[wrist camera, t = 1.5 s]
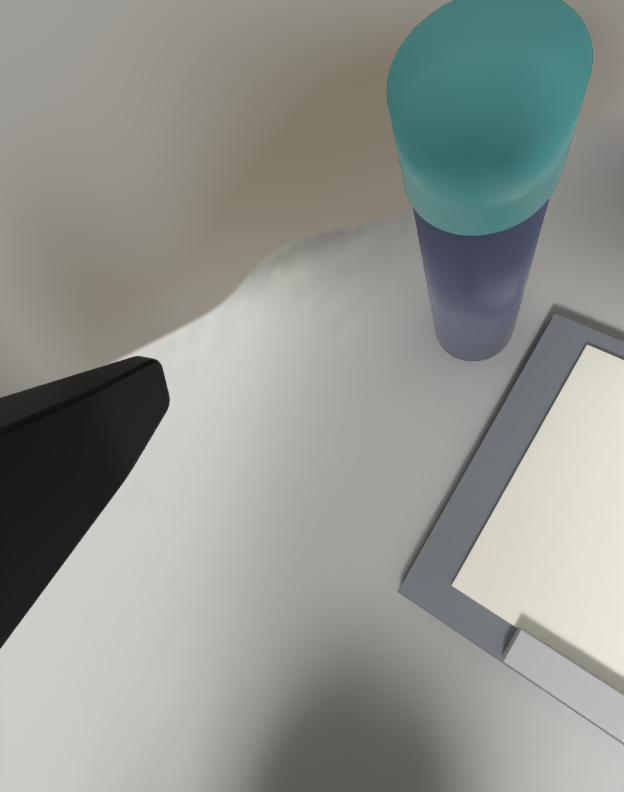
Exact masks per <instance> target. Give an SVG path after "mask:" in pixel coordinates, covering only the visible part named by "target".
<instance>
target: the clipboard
mask: <svg viewBox="0 0 624 792" xmlns="http://www.w3.org/2000/svg"><path fill="white" fill-rule="evenodd" d="M398 592H399V593H400V594H402V595H403V596H405V597H406V598H408V599H409V600H411V601H412V602H414V603H415V604H417V605H418V606H420V607H421V608H423V609H424V610H426V611H427V612H429V613H430V614H431V615H433V616H434V617H436V618H437V619H439V620H440V621H442V622H443V623H445V624H446V625H448V626H449V627H451V628H452V629H454V630H455V631H457V632H458V633H460V634H461V635H462V636H464V637H465V638H467V639H468V640H470V641H471V642H473V643H474V644H476V645H477V646H479V647H480V648H482V649H483V650H485V651H486V652H488V653H489V654H491V655H492V656H493V657H495V658H496V659H498V660H499V661H501V662H502V663H504V664H505V665H507V666H508V667H510V668H511V669H513V670H514V671H516V672H517V673H519V674H520V675H522V676H523V677H524V678H526V679H527V680H529V681H530V682H532V683H533V684H535V685H536V686H538V687H539V688H541V689H542V690H544V691H545V692H547V693H548V694H550V695H551V696H553V697H554V698H555V699H557V700H558V701H560V702H561V703H563V704H564V705H566V706H567V707H569V708H570V709H572V710H573V711H575V712H576V713H578V714H579V715H581V716H582V717H584V718H585V719H586V720H588V721H589V722H591V723H592V724H594V725H595V726H597V727H598V728H600V729H601V730H603V731H604V732H606V733H607V734H609V735H610V736H612V737H613V738H615V739H616V740H617V741H619V742H620V743H622V744H623V745H624V341H621V340H619V339H617V338H614V337H612V336H609V335H607V334H604V333H602V332H600V331H597V330H595V329H592V328H590V327H587V326H585V325H583V324H580V323H578V322H575V321H573V320H571V319H568V318H566V317H563V316H561V315H558V314H556V313H555V314H554V316H553V317H552V319H551V321H550V323H549V325H548V326H547V328H546V330H545V332H544V333H543V335H542V337H541V339H540V340H539V342H538V344H537V346H536V348H535V349H534V351H533V353H532V355H531V356H530V358H529V360H528V362H527V364H526V365H525V367H524V369H523V371H522V372H521V374H520V376H519V378H518V379H517V381H516V383H515V385H514V387H513V388H512V390H511V392H510V394H509V395H508V397H507V399H506V401H505V402H504V404H503V406H502V408H501V410H500V411H499V413H498V415H497V417H496V418H495V420H494V422H493V424H492V425H491V427H490V429H489V431H488V433H487V434H486V436H485V438H484V440H483V441H482V443H481V445H480V447H479V449H478V450H477V452H476V454H475V456H474V457H473V459H472V461H471V463H470V464H469V466H468V468H467V470H466V472H465V473H464V475H463V477H462V479H461V480H460V482H459V484H458V486H457V487H456V489H455V491H454V493H453V495H452V496H451V498H450V500H449V502H448V503H447V505H446V507H445V509H444V510H443V512H442V514H441V516H440V518H439V519H438V521H437V523H436V525H435V526H434V528H433V530H432V532H431V533H430V535H429V537H428V539H427V541H426V542H425V544H424V546H423V548H422V549H421V551H420V553H419V555H418V557H417V558H416V560H415V562H414V564H413V565H412V567H411V569H410V571H409V572H408V574H407V576H406V578H405V580H404V581H403V583H402V585H401V587H400V588H399V590H398Z"/></svg>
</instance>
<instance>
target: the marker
mask: <svg viewBox="0 0 624 792" xmlns="http://www.w3.org/2000/svg"><path fill="white" fill-rule="evenodd" d="M592 63H593V48H592V43H591V38H590V35H589V33H588V30H587V27H586V26H585V24H584V22H583V21H582V19H581V18H580V16H579V15H578V14H577V13H576V12H575V11H574V10H573V9H572V8H571V7H570V6H569V5H567V4H566V3H565V2H563V1H562V0H453V1H451V2H449V3H447V4H446V5H444V6H442V7H441V8H439V9H437V10H436V11H434V12H433V13H432V14H430V15H429V16H428V17H426V18H425V19H424V20H423V21H422V22H421V23H420V24H419V25H417V26H416V27H415V28H414V29H413V31H412V32H411V33H410V34H409V35H408V37H407V38H406V39H405V41H404V42H403V43H402V45H401V46H400V48H399V50H398V51H397V54H396V55H395V57H394V59H393V62H392V65H391V68H390V71H389V75H388V80H387V101H388V107H389V111H390V117H391V121H392V127H393V131H394V137H395V142H396V146H397V152H398V156H399V162H400V167H401V171H402V177H403V181H404V186H405V190H406V194H407V197H408V199H409V201H410V203H411V205H412V206H413V210H414V215H415V220H416V226H417V231H418V237H419V242H420V248H421V253H422V258H423V264H424V269H425V275H426V280H427V286H428V291H429V296H430V302H431V307H432V313H433V318H434V324H435V329H436V334H437V338H438V340H439V342H440V344H441V345H442V347H443V348H444V349H445V350H446V351H447V352H448V353H449V354H451V355H452V356H454V357H456V358H459V359H462V360H466V361H481V360H485V359H488V358H490V357H492V356H494V355H496V354H497V353H499V352H500V351H501V350H502V349H503V348H504V347H505V346H506V345H507V343H508V342H509V340H510V338H511V335H512V332H513V329H514V325H515V321H516V318H517V314H518V310H519V307H520V303H521V300H522V296H523V292H524V289H525V285H526V281H527V278H528V274H529V270H530V267H531V263H532V259H533V256H534V252H535V249H536V245H537V241H538V238H539V234H540V230H541V227H542V223H543V219H544V216H545V212H546V209H547V205H548V201H549V198H550V196H551V195H552V193H553V192H554V190H555V188H556V186H557V184H558V182H559V180H560V177H561V174H562V170H563V167H564V163H565V160H566V157H567V153H568V150H569V146H570V143H571V139H572V136H573V133H574V129H575V126H576V122H577V119H578V115H579V112H580V108H581V105H582V102H583V98H584V95H585V91H586V88H587V85H588V81H589V78H590V74H591V69H592Z"/></svg>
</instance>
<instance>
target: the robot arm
mask: <svg viewBox="0 0 624 792" xmlns="http://www.w3.org/2000/svg"><path fill="white" fill-rule="evenodd" d="M169 402H170V397H169V392H168V388H167V384H166V380H165V376H164V372H163V368H162V365H161V364H160V362H159V361H158V360H156V359H152V358H147V357H142V356H135V357H131V358H128V359H125V360H121V361H118V362H115V363H112V364H108V365H105V366H102V367H99V368H95V369H92V370H89V371H86V372H82V373H79V374H76V375H73V376H70V377H66V378H63V379H60V380H57V381H53V382H50V383H47V384H44V385H40V386H37V387H34V388H31V389H27V390H24V391H21V392H18V393H15V394H11V395H8V396H5V397H2V398H0V649H1V647H2V646H3V645H4V643H5V642H6V641H7V639H8V638H9V636H10V635H11V634H12V632H13V631H14V630H15V628H16V627H17V626H18V624H19V623H20V622H21V620H22V619H23V618H24V616H25V615H26V614H27V612H28V611H29V609H30V608H31V607H32V605H33V604H34V603H35V601H36V600H37V599H38V597H39V596H40V595H41V593H42V592H43V591H44V589H45V588H46V586H47V585H48V584H49V582H50V581H51V580H52V578H53V577H54V576H55V574H56V573H57V572H58V570H59V569H60V568H61V566H62V565H63V564H64V562H65V561H66V559H67V558H68V557H69V555H70V554H71V553H72V551H73V550H74V549H75V547H76V546H77V545H78V543H79V542H80V541H81V539H82V538H83V536H84V535H85V534H86V532H87V531H88V530H89V528H90V527H91V526H92V524H93V523H94V522H95V520H96V519H97V518H98V516H99V515H100V514H101V512H102V511H103V509H104V508H105V507H106V505H107V504H108V503H109V501H110V500H111V499H112V497H113V496H114V495H115V493H116V492H117V491H118V489H119V488H120V486H121V485H122V484H123V482H124V481H125V479H126V478H127V477H128V475H129V473H130V472H131V470H132V469H133V467H134V465H135V464H136V462H137V460H138V459H139V457H140V455H141V454H142V452H143V450H144V449H145V447H146V445H147V444H148V442H149V440H150V439H151V437H152V435H153V434H154V432H155V430H156V429H157V427H158V425H159V423H160V422H161V420H162V418H163V417H164V415H165V413H166V412H167V410H168V407H169Z"/></svg>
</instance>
